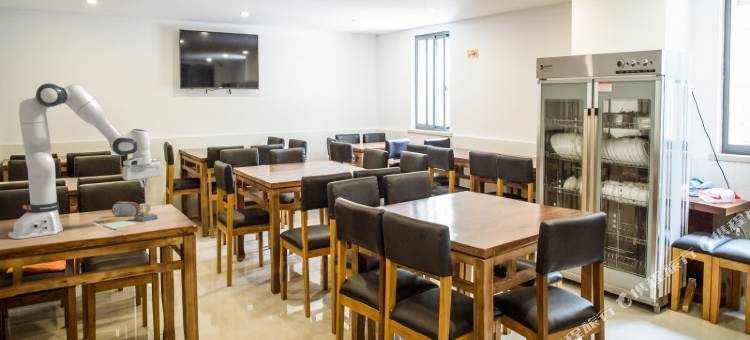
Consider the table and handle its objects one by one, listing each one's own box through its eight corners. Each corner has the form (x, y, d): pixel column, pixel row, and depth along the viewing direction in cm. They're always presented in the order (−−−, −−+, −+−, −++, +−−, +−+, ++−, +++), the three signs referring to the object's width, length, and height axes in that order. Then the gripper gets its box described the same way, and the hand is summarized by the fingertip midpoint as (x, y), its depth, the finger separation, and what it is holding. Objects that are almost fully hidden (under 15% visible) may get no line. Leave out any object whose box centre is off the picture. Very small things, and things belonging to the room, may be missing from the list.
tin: (140, 216, 299) (139, 201, 298) (137, 218, 296) (136, 202, 294) (114, 216, 300) (113, 201, 299) (111, 217, 297) (110, 202, 296)
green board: (113, 230, 268) (113, 228, 268) (102, 226, 276) (102, 224, 276) (137, 225, 277) (137, 223, 277) (126, 222, 285) (126, 220, 285)
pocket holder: (141, 224, 281) (141, 218, 280) (132, 221, 287) (131, 215, 287) (159, 220, 288) (159, 215, 288) (150, 218, 295) (150, 212, 294)
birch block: (144, 220, 285) (143, 205, 284) (140, 219, 287) (139, 204, 286) (151, 219, 288) (150, 204, 287) (147, 217, 290) (146, 203, 289)
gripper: (158, 158, 293) (160, 183, 295) (120, 162, 278) (122, 189, 280) (164, 158, 289) (166, 184, 291) (125, 163, 274) (128, 190, 276)
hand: (144, 186), depth 285 cm, fingers closed
